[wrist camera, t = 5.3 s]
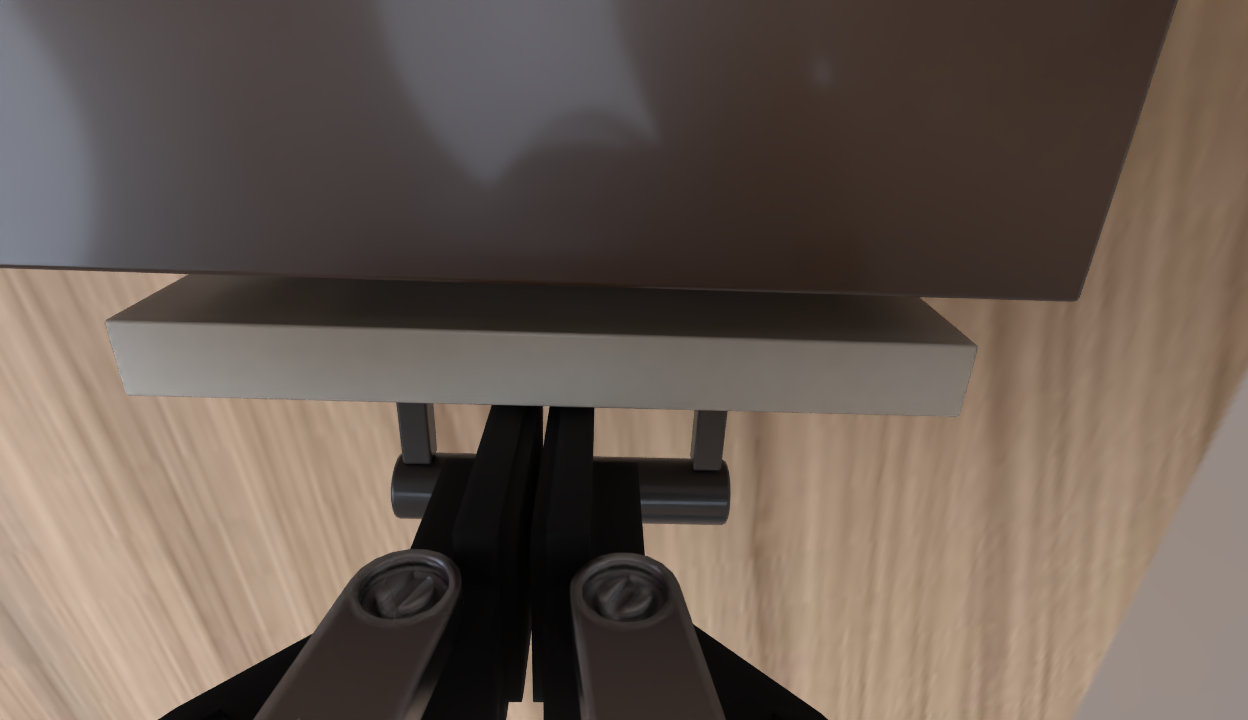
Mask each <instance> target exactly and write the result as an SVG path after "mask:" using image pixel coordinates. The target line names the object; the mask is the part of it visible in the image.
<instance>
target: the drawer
mask: <svg viewBox="0 0 1248 720" xmlns="http://www.w3.org/2000/svg"><path fill="white" fill-rule="evenodd" d="M105 325H106V328H107V332H108V335H109V338H110V342H111V345H112V349H113V352H114V355H115V359H116V362H117V366H118V369H119V372H120V376H121V379H122V383H123V386H124V390H125V393H126V394H127V395H134V396H172V397H211V398H250V399H289V400H327V401H366V402H396V403H397V412H398V421H399V430H400V439H401V448H402V453H401V454H400V455H399V457H398V459H397V461H396V464H395V467H394V471H393V475H392V483H391V502H392V508H393V512H394V514H395V516H396V517H398V518H403V519H422V518H423V515H424V513H425V510H426V508H427V505H428V502H429V500H430V497H431V495H432V492H433V490H434V487H435V484H436V482H437V479H438V477H439V474H440V471H441V469H442V466H443V464H444V462H445V460H446V459H447V458H475V457H476V454H473V453H436V451H437V442H436V431H435V419H434V407H433V403H443V404H482V405H521V406H559V407H598V408H637V409H675V410H694V420H693V431H692V442H691V452H690V456H691V459H685V458H643V457H600V456H593V461H626V462H637V463H638V473H639V486H640V500H641V513H642V523H646V524H694V525H723V524H725V523H726V522H727V519H728V516H729V510H730V495H731V492H730V476H729V470H728V466H727V464H726V462H725V461H724V460H722V455H723V446H724V437H725V429H726V420H727V411H753V412H791V413H830V414H869V415H907V416H946V417H957V416H959V415H960V411H961V408H962V404H963V400H964V397H965V393H966V389H967V386H968V382H969V378H970V375H971V371H972V368H973V364H974V360H975V357H976V353H977V349H978V347H977V345H976V344H975V343H974V342H972V341H971V340H970V339H969V338H968V337H966V336H965V335H964V334H963V333H962V332H960V331H959V330H958V329H957V328H956V327H954V326H953V325H952V324H951V323H950V322H948V321H947V320H946V319H945V318H944V317H942V316H941V315H940V314H939V313H938V312H936V311H935V310H934V309H933V308H932V307H930V306H929V305H928V304H927V303H926V302H924V301H923V300H922V299H921V298H920V297H906V296H874V295H842V294H810V293H778V292H746V291H714V290H683V289H651V288H619V287H587V286H555V285H523V284H491V283H460V282H428V281H396V280H364V279H332V278H300V277H268V276H237V275H205V274H188V275H186V276H185V277H183V278H181V279H179V280H177V281H176V282H174V283H172V284H170V285H168V286H167V287H165V288H163V289H161V290H159V291H157V292H156V293H154V294H152V295H150V296H148V297H147V298H145V299H143V300H141V301H139V302H138V303H136V304H134V305H132V306H130V307H129V308H127V309H125V310H123V311H121V312H119V313H118V314H116V315H114V316H112V317H110V318H109V319H107V320H106V321H105Z"/></svg>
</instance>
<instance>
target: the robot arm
mask: <svg viewBox="0 0 1248 720" xmlns="http://www.w3.org/2000/svg"><path fill="white" fill-rule="evenodd" d="M593 441H594V407H559V406H550V408H549V414H548V421H547V427H546V433H545V440H544V446H543V406H521V405H492V407H491V410H490V413H489V416H488V419H487V422H486V426H485V429H484V432H483V435H482V438H481V441H480V445H479V448H478V451H477V454H476V457H475V458H447V459H446V460H445V462H444V464H443V466H442V469H441V471H440V474H439V477H438V479H437V482H436V484H435V487H434V490H433V492H432V495H431V497H430V500H429V502H428V505H427V508H426V510H425V513H424V515H423V518H422V521H421V523H420V526H419V528H418V531H417V533H416V536H415V539H414V541H413V544H412V546H411V549H408V550H403V551H397V552H392V553H389V554H387V555H384V556H382V557H379V558H377V559H375V560H373V561H372V562H370V563H369V564H367V565H365V566H364V567H362V568H361V569H360V570H359V571H358V572H357V573H356V574H355V575H354V577H353V578H352V579H351V580H350V581H349V583H348V584H347V586H346V587H345V588H344V590H343V591H342V593H341V594H340V596H339V597H338V598H337V600H336V601H335V603H334V604H333V606H332V607H331V609H330V610H329V611H328V613H327V614H326V616H325V617H324V619H323V620H322V621H321V623H320V624H319V626H318V627H317V629H316V630H315V632H314V633H313V634H311V635H309V636H307V637H306V638H304V639H302V640H300V641H298V642H296V643H295V644H293V645H291V646H289V647H287V648H285V649H284V650H282V651H280V652H278V653H276V654H274V655H272V656H271V657H269V658H267V659H265V660H263V661H261V662H260V663H258V664H256V665H254V666H252V667H250V668H249V669H247V670H245V671H243V672H241V673H239V674H238V675H236V676H234V677H232V678H230V679H228V680H227V681H225V682H223V683H221V684H219V685H217V686H216V687H214V688H212V689H210V690H208V691H206V692H204V693H203V694H201V695H199V696H197V697H195V698H193V699H192V700H190V701H188V702H186V703H184V704H182V705H181V706H179V707H177V708H175V709H174V710H172V711H170V712H169V713H167V714H166V715H164V716H163V717H161V718H160V719H158V720H506V717H507V710H508V703H509V702H522V699H523V693H524V685H525V677H526V669H527V661H528V653H529V645H530V638H531V630H532V674H533V702H544V720H828V719H827V718H826V717H824V716H823V715H822V714H821V713H820V712H818V711H817V710H815V709H814V708H812V707H811V706H810V705H808V704H807V703H805V702H804V701H802V700H801V699H800V698H798V697H797V696H795V695H794V694H792V693H791V692H790V691H788V690H787V689H785V688H784V687H782V686H781V685H779V684H778V683H777V682H775V681H774V680H772V679H771V678H769V677H768V676H767V675H765V674H764V673H762V672H761V671H759V670H758V669H757V668H755V667H754V666H752V665H751V664H749V663H748V662H747V661H745V660H744V659H742V658H741V657H739V656H738V655H737V654H735V653H734V652H732V651H731V650H729V649H728V648H726V647H725V646H724V645H722V644H721V643H719V642H718V641H716V640H715V639H714V638H712V637H711V636H709V635H708V634H706V633H705V632H704V631H702V630H701V629H699V628H698V627H696V626H695V625H694V624H693V623H692V620H691V617H690V614H689V611H688V608H687V606H686V603H685V600H684V597H683V594H682V591H681V588H680V585H679V583H678V581H677V580H676V578H675V576H674V574H673V573H672V572H671V571H670V570H669V569H668V568H667V567H665V566H664V565H663V564H662V563H660V562H658V561H656V560H654V559H652V558H650V557H648V556H645V553H644V540H643V526H642V513H641V500H640V486H639V473H638V463H637V462H626V461H593Z"/></svg>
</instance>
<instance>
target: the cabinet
mask: <svg viewBox="0 0 1248 720" xmlns="http://www.w3.org/2000/svg"><path fill="white" fill-rule="evenodd" d="M1177 1H1178V0H0V268H14V269H45V270H77V271H109V272H141V273H173V274H205V275H237V276H268V277H300V278H332V279H364V280H396V281H428V282H460V283H491V284H523V285H555V286H587V287H619V288H651V289H683V290H714V291H746V292H778V293H810V294H842V295H874V296H906V297H937V298H969V299H1001V300H1033V301H1065V302H1073V301H1077V300H1078V299H1079V297H1080V295H1081V291H1082V288H1083V285H1084V282H1085V279H1086V276H1087V273H1088V270H1089V267H1090V264H1091V261H1092V258H1093V255H1094V252H1095V249H1096V246H1097V243H1098V240H1099V237H1100V234H1101V231H1102V228H1103V225H1104V222H1105V219H1106V216H1107V213H1108V210H1109V207H1110V204H1111V201H1112V198H1113V195H1114V192H1115V189H1116V186H1117V183H1118V180H1119V177H1120V173H1121V170H1122V167H1123V164H1124V161H1125V158H1126V155H1127V152H1128V149H1129V146H1130V143H1131V140H1132V137H1133V134H1134V131H1135V128H1136V125H1137V122H1138V119H1139V116H1140V113H1141V110H1142V107H1143V104H1144V101H1145V98H1146V95H1147V92H1148V89H1149V86H1150V83H1151V80H1152V77H1153V74H1154V71H1155V68H1156V65H1157V62H1158V59H1159V55H1160V52H1161V49H1162V46H1163V43H1164V40H1165V37H1166V34H1167V31H1168V28H1169V25H1170V22H1171V19H1172V16H1173V13H1174V10H1175V7H1176V4H1177Z"/></svg>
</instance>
